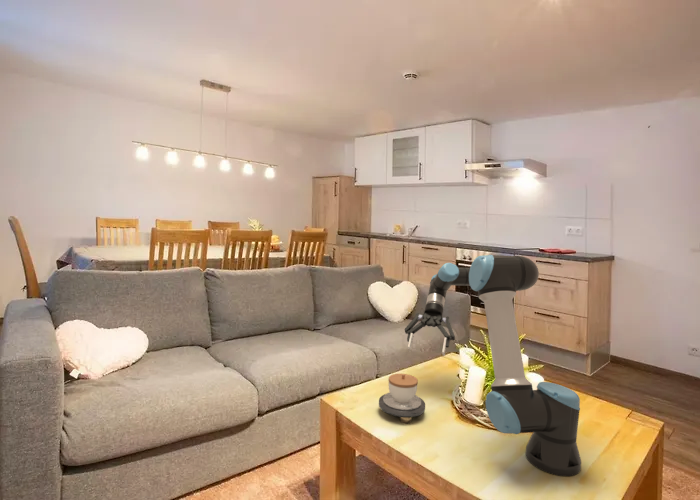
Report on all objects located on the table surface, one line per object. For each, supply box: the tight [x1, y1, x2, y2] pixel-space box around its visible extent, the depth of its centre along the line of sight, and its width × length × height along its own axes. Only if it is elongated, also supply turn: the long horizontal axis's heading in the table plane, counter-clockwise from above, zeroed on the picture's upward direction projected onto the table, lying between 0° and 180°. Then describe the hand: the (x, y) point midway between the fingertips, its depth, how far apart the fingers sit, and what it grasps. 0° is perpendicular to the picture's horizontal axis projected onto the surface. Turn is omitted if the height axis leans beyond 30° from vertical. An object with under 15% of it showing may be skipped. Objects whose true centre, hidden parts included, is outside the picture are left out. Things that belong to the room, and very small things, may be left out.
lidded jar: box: [387, 373, 419, 403], centre depth 154 cm, size 11×11×9 cm
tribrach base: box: [378, 392, 426, 424], centre depth 155 cm, size 17×17×5 cm
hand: (425, 351), depth 165 cm, fingers open, 13 cm apart
